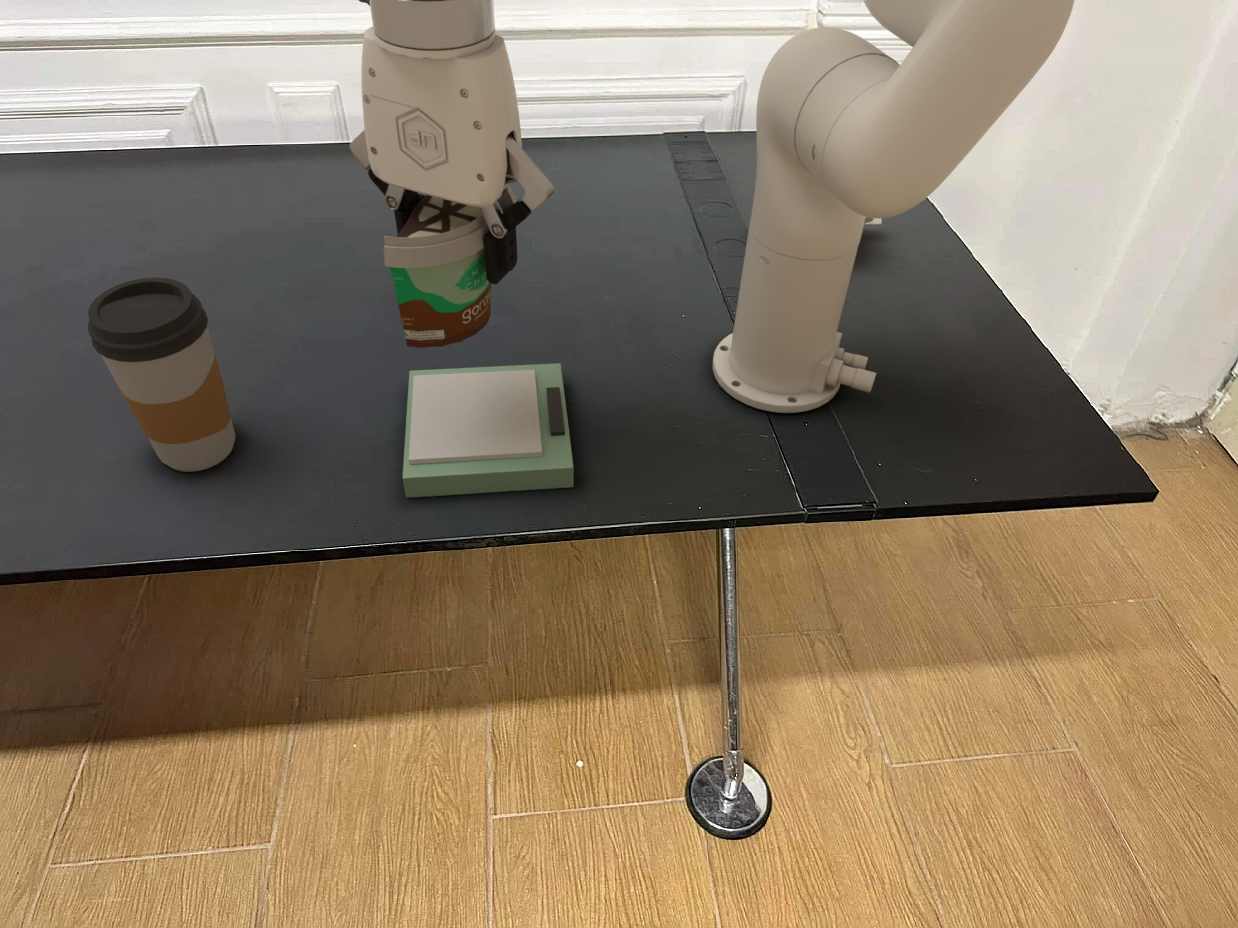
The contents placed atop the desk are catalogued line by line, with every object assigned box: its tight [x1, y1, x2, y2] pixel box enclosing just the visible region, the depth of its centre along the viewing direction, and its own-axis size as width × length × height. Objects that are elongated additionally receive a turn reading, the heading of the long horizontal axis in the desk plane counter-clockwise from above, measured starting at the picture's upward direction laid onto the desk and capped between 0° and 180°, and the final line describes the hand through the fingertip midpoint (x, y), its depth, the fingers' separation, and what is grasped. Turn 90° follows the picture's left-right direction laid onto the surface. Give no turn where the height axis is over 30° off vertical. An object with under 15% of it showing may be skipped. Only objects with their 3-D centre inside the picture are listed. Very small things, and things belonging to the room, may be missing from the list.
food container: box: [383, 194, 492, 349], centre depth 68 cm, size 12×6×10 cm, turn 168°
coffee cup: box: [87, 276, 236, 473], centre depth 73 cm, size 8×8×15 cm
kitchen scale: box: [401, 362, 575, 499], centre depth 80 cm, size 14×14×3 cm
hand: (458, 261), depth 68 cm, fingers closed on food container, 6 cm apart
